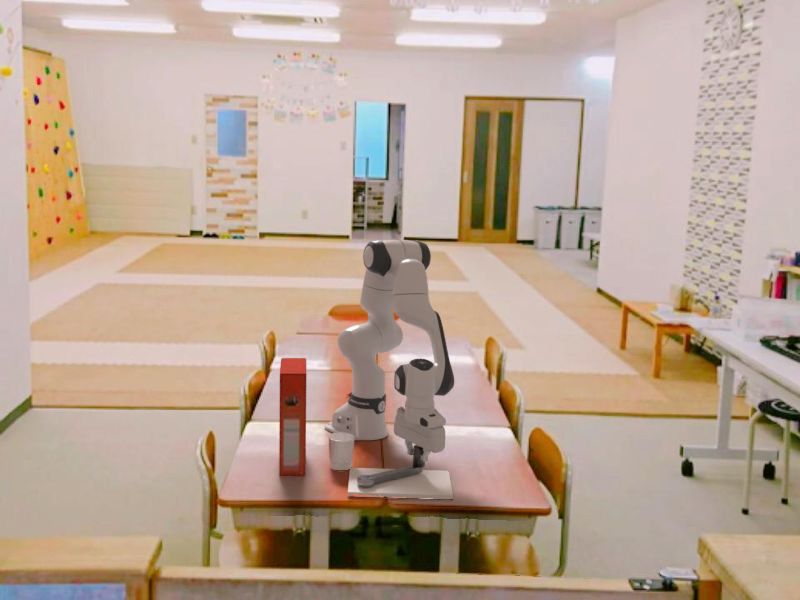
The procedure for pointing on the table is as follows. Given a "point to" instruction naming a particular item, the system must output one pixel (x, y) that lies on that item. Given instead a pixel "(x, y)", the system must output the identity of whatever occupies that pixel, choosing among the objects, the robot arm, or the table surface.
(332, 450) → the white cup
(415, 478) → the lever board
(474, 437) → the table surface
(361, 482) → the lever
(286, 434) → the file binder
